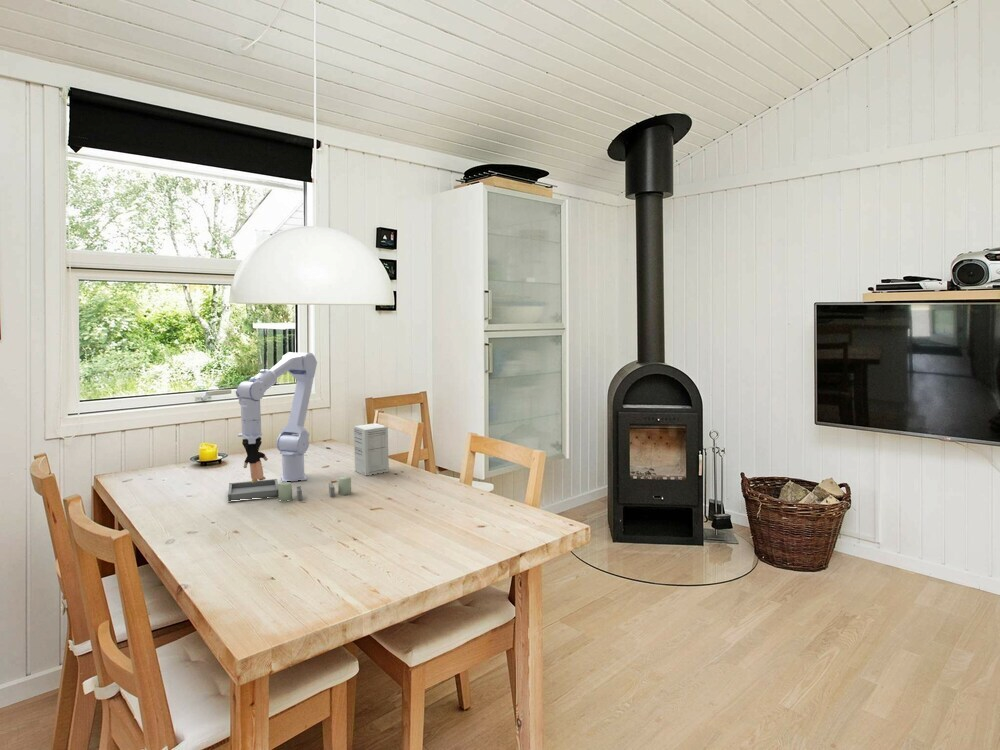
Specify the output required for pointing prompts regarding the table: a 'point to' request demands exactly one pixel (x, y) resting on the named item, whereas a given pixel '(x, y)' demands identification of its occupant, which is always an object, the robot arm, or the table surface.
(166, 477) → the table surface
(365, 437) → the supplement box
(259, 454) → the grandmother figurine
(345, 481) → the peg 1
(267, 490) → the tray
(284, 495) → the pale green rounded block
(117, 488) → the table surface
